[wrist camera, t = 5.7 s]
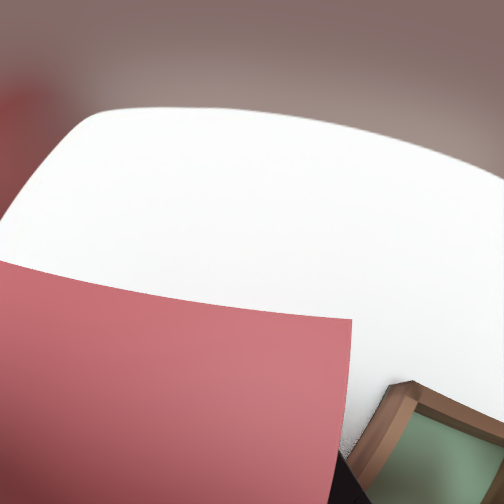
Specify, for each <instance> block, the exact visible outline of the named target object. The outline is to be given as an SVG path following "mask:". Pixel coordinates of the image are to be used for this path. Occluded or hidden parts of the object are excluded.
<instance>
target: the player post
mask: <svg viewBox="0 0 504 504" xmlns="http://www.w3.org/2000/svg"><path fill="white" fill-rule="evenodd" d="M351 333H352V319H338V318H326V317H314V316H304V315H294V314H284V313H275V312H266V311H257V310H249V309H241V308H234V307H226V306H219V305H212V304H205V303H198V302H192V301H185V300H179V299H173V298H167V297H161V296H155V295H150V294H144V293H139V292H133V291H128V290H123V289H118V288H113V287H108V286H103V285H98V284H93V283H88V282H84V281H79V280H75V279H70V278H66V277H62V276H57V275H53V274H49V273H45V272H41V271H37V270H33V269H29V268H25V267H21V266H18V265H14V264H10V263H7V262H3V261H0V504H327V502H328V497H329V493H330V489H331V484H332V480H333V475H334V470H335V465H336V460H337V455H338V449H339V443H340V437H341V431H342V424H343V417H344V410H345V402H346V393H347V384H348V374H349V362H350V349H351Z"/></svg>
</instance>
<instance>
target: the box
mask: <svg viewBox="0 0 504 504" xmlns="http://www.w3.org/2000/svg"><path fill="white" fill-rule="evenodd" d="M346 462H347V464H348V465H349V467H350V469H351V470H352V472H353V473H354V475H355V477H356V478H357V480H358V481H359V483H360V485H361V486H362V488H363V490H362V491H365V492H366V494H367V495H368V497H369V499H370V500H371V502H372V503H373V504H504V423H503V422H500V421H498V420H496V419H494V418H491V417H489V416H487V415H485V414H482V413H480V412H478V411H476V410H474V409H471V408H469V407H467V406H465V405H463V404H461V403H458V402H456V401H454V400H452V399H450V398H448V397H446V396H444V395H442V394H439V393H437V392H435V391H433V390H431V389H429V388H427V387H425V386H423V385H421V384H419V383H417V382H415V381H413V380H411V381H407V382H403V383H398V384H393V385H389V386H388V388H387V390H386V392H385V394H384V396H383V398H382V400H381V402H380V404H379V406H378V408H377V409H376V411H375V413H374V415H373V417H372V418H371V420H370V422H369V424H368V425H367V427H366V429H365V431H364V432H363V434H362V436H361V437H360V439H359V440H358V442H357V444H356V445H355V447H354V448H353V450H352V452H351V453H350V455H349V456H348V458H347V459H346Z"/></svg>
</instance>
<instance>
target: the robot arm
mask: <svg viewBox="0 0 504 504" xmlns="http://www.w3.org/2000/svg"><path fill="white" fill-rule="evenodd" d="M362 490H363V488H362V486H361V485H360V483H359V481H358V480H357V478H356V477H355V475H354V473H353V472H352V470H351V469H350V467H349V465H348V464H347V462H346V460H345V459H344V457H343V456H342V454H341V452H340V451H339V449H338V455H337V460H336V465H335V470H334V475H333V480H332V484H331V489H330V493H329V497H328V502H327V504H373V503H372V502H371V500H370V499H369V497H368V495H367V494H366V492H365V491H362Z"/></svg>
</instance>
